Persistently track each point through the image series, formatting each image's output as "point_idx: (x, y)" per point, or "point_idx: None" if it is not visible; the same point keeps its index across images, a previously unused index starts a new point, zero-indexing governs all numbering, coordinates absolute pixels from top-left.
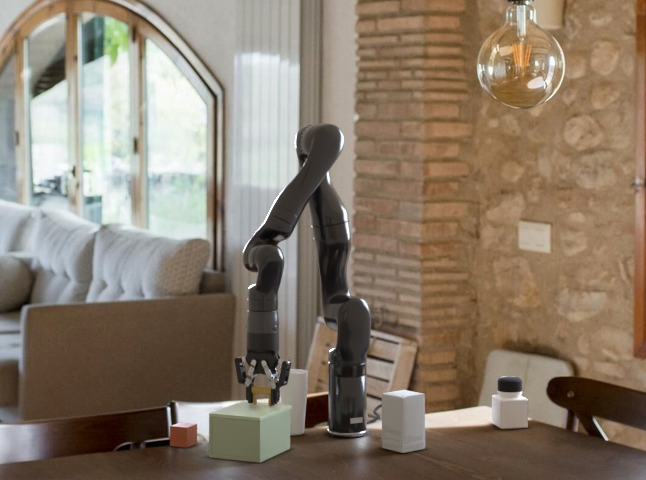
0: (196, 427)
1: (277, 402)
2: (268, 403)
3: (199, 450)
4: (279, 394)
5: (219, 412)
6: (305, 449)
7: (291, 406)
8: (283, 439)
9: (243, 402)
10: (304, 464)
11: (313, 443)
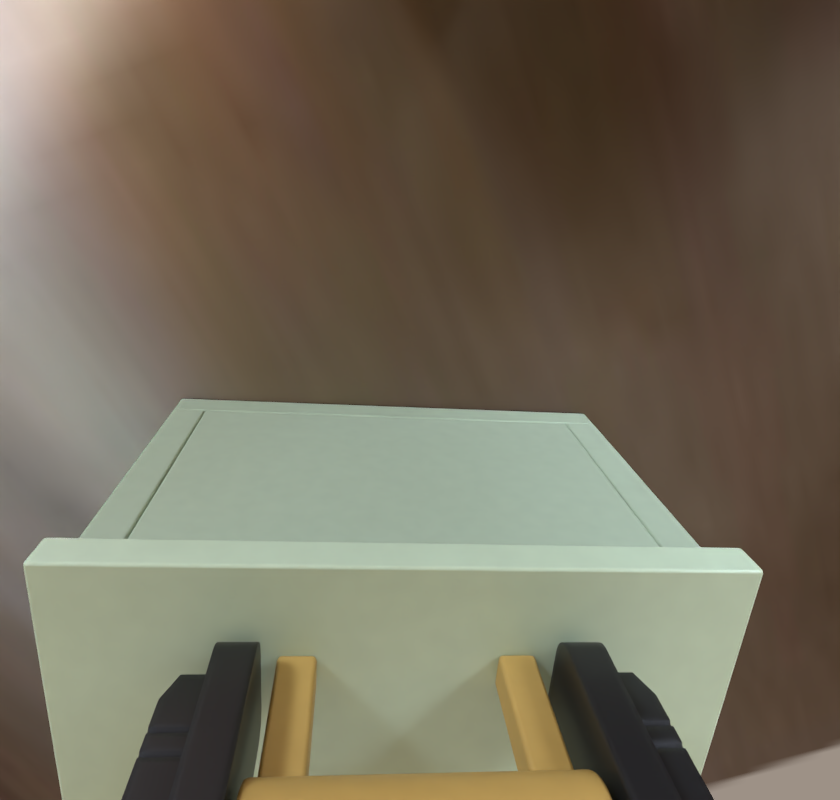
0: None
1: (602, 649)
2: (443, 580)
3: (36, 648)
4: (689, 763)
5: None
6: (687, 388)
7: (754, 571)
8: None
9: (97, 639)
10: (758, 693)
11: (703, 184)
